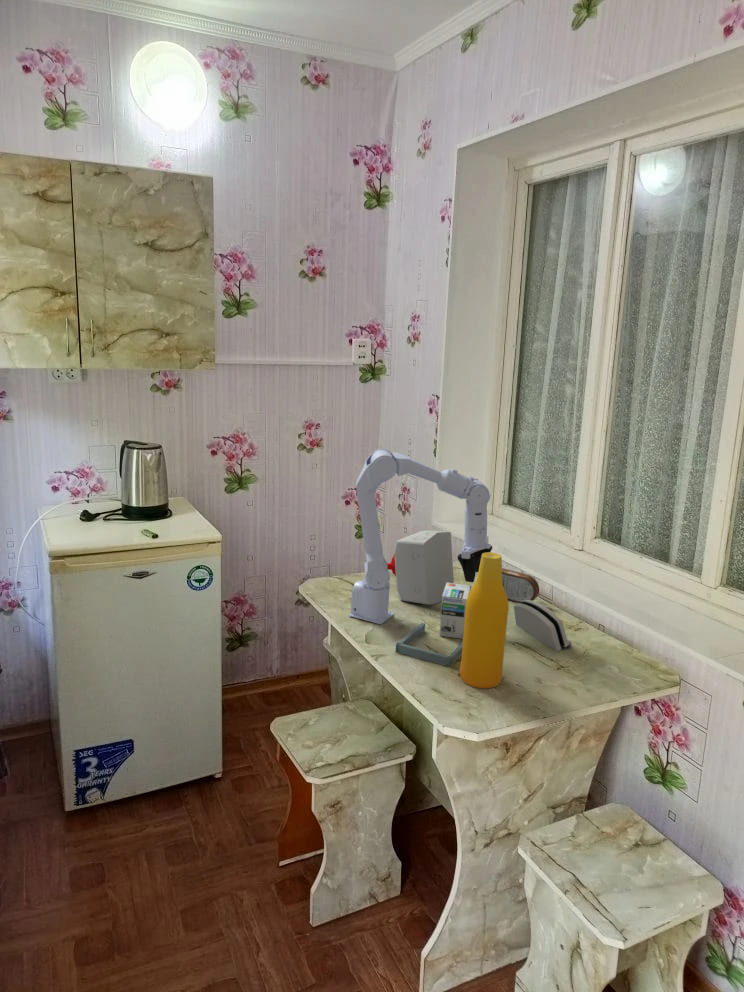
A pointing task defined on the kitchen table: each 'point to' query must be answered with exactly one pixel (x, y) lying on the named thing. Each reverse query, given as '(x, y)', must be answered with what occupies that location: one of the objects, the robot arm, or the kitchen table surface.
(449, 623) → the light bulb box
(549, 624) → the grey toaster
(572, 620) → the kitchen table surface
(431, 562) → the electrical switch box
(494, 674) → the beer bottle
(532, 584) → the tin
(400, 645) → the bay
